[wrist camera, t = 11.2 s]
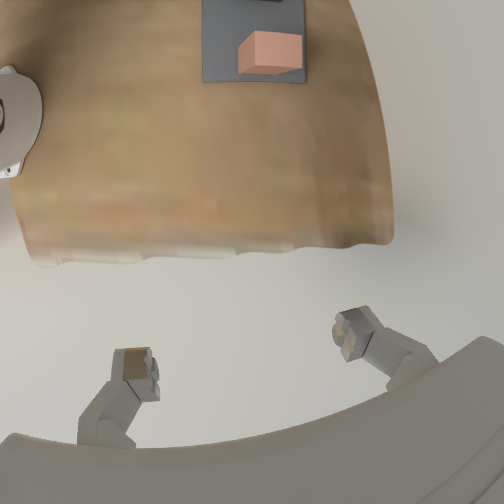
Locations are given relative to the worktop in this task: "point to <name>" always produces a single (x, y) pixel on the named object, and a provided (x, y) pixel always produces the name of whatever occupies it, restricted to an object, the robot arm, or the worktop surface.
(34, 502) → the robot arm
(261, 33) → the salmon pink rectangular block
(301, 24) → the stand
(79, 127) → the worktop surface
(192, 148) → the worktop surface
